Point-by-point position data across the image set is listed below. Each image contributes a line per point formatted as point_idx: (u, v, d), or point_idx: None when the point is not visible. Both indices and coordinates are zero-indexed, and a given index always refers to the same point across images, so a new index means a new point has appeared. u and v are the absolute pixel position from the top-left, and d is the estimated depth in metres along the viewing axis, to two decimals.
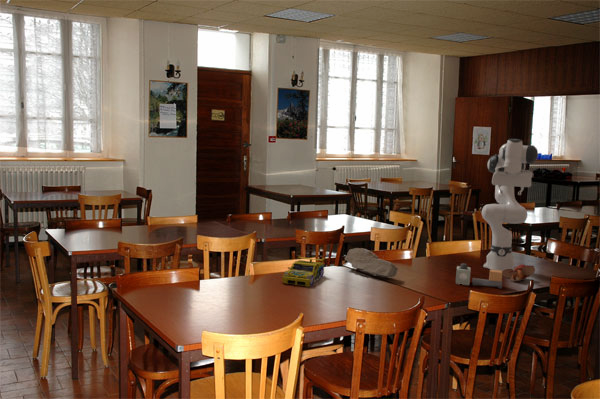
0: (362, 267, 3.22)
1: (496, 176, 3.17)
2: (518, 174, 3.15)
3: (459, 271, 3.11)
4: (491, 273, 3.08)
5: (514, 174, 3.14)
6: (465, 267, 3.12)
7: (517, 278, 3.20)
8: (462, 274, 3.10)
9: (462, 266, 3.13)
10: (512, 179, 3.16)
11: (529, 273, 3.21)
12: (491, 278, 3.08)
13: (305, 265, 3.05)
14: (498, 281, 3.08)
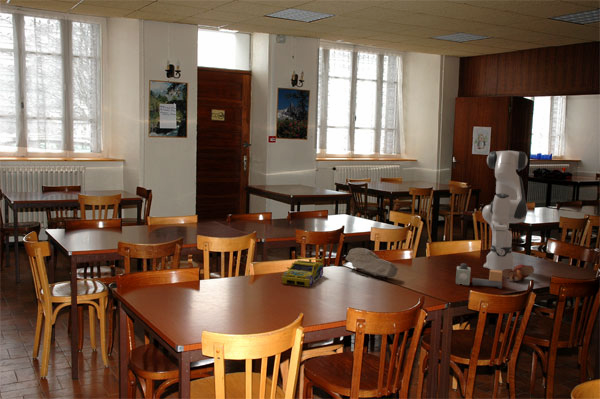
0: (362, 267, 3.22)
1: None
2: None
3: (459, 271, 3.11)
4: (491, 273, 3.08)
5: None
6: (465, 267, 3.12)
7: (516, 278, 3.20)
8: (462, 274, 3.10)
9: (462, 266, 3.13)
10: None
11: (528, 273, 3.21)
12: (491, 278, 3.08)
13: (304, 265, 3.05)
14: (498, 281, 3.08)
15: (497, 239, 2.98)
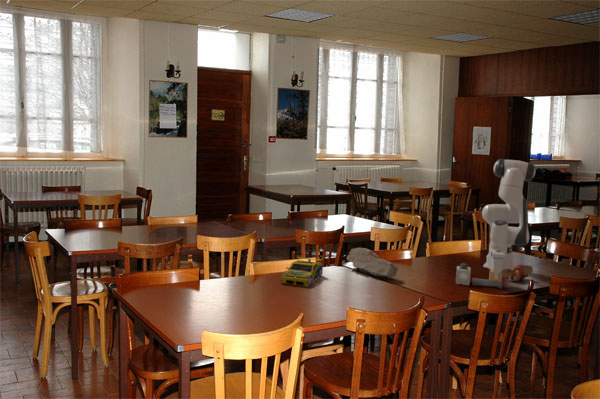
0: (363, 267, 3.23)
1: None
2: None
3: (459, 271, 3.11)
4: (491, 273, 3.08)
5: None
6: (465, 267, 3.12)
7: (515, 278, 3.20)
8: (462, 274, 3.10)
9: (462, 266, 3.13)
10: None
11: (527, 273, 3.21)
12: (491, 278, 3.08)
13: (304, 265, 3.05)
14: (498, 281, 3.08)
15: (495, 267, 3.00)
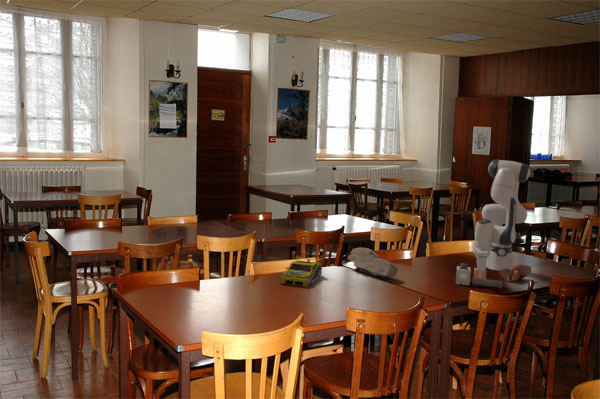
0: (363, 266, 3.24)
1: None
2: None
3: (459, 271, 3.11)
4: (475, 271, 3.10)
5: None
6: (465, 267, 3.12)
7: (513, 278, 3.20)
8: (462, 274, 3.10)
9: (462, 266, 3.13)
10: None
11: (525, 273, 3.21)
12: (475, 276, 3.10)
13: (303, 265, 3.05)
14: (482, 279, 3.10)
15: (479, 265, 3.02)
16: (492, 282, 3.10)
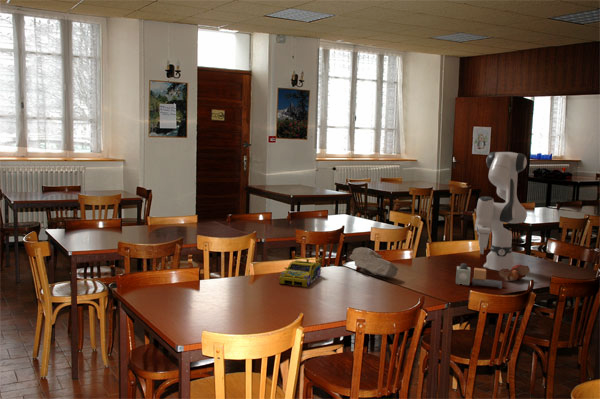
0: (364, 266, 3.24)
1: None
2: None
3: (459, 271, 3.11)
4: (475, 271, 3.10)
5: None
6: (465, 267, 3.12)
7: (511, 278, 3.20)
8: (462, 274, 3.10)
9: (462, 266, 3.13)
10: None
11: (524, 273, 3.20)
12: (475, 276, 3.10)
13: (302, 265, 3.05)
14: (482, 279, 3.10)
15: (480, 242, 3.01)
16: (492, 282, 3.10)
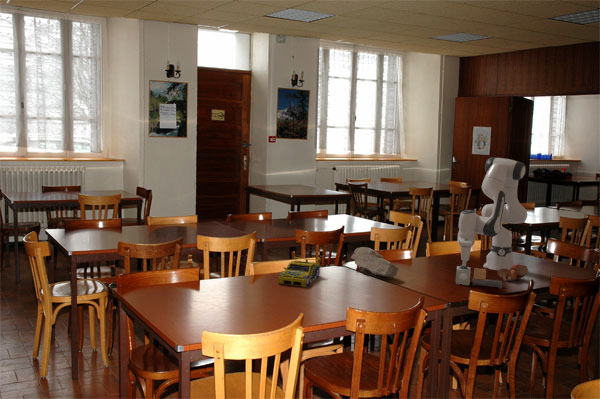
0: (365, 266, 3.25)
1: None
2: None
3: (459, 271, 3.11)
4: (475, 271, 3.10)
5: None
6: None
7: (509, 277, 3.20)
8: (462, 274, 3.10)
9: (462, 268, 3.13)
10: None
11: (522, 273, 3.21)
12: (475, 276, 3.10)
13: (301, 265, 3.05)
14: (482, 279, 3.10)
15: (462, 255, 3.04)
16: (492, 282, 3.10)
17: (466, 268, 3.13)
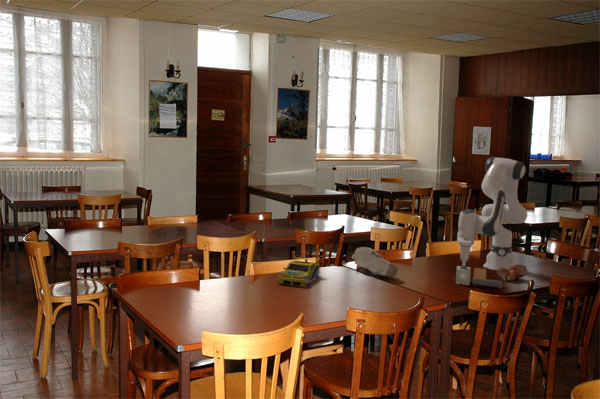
0: (365, 266, 3.25)
1: None
2: None
3: (459, 271, 3.11)
4: (475, 271, 3.10)
5: None
6: None
7: (508, 277, 3.20)
8: (462, 274, 3.10)
9: None
10: None
11: (521, 273, 3.21)
12: (475, 276, 3.10)
13: (300, 265, 3.05)
14: (482, 279, 3.10)
15: (462, 255, 3.04)
16: (492, 282, 3.10)
17: None
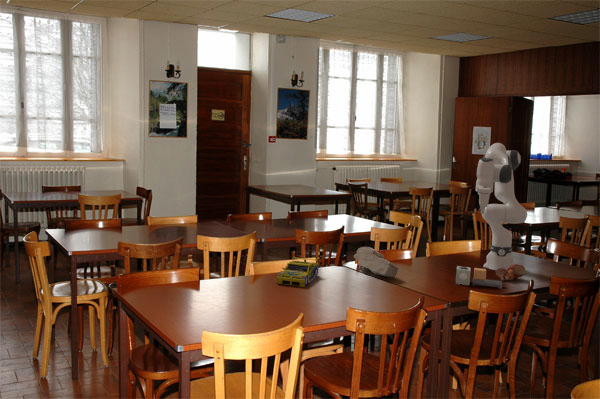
0: (366, 265, 3.26)
1: None
2: None
3: (459, 271, 3.11)
4: (475, 271, 3.10)
5: None
6: None
7: (506, 277, 3.21)
8: (462, 274, 3.10)
9: None
10: None
11: (519, 273, 3.21)
12: (475, 276, 3.10)
13: (299, 265, 3.04)
14: (482, 279, 3.10)
15: (481, 201, 3.06)
16: (492, 282, 3.10)
17: None
